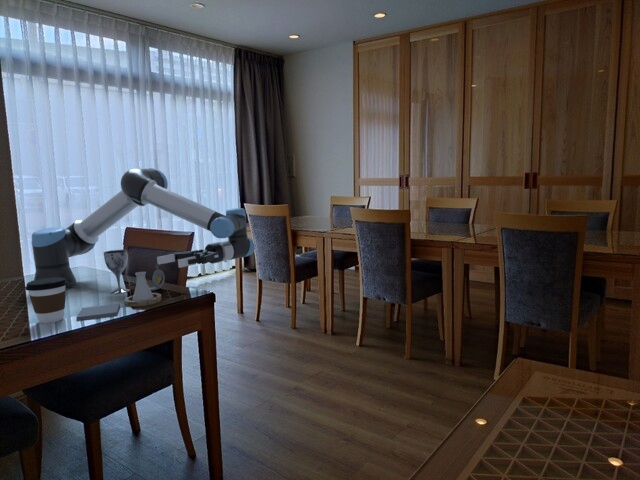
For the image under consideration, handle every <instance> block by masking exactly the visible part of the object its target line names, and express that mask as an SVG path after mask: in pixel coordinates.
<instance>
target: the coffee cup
mask: <svg viewBox="0 0 640 480" xmlns="http://www.w3.org/2000/svg"><path fill="white" fill-rule="evenodd" d="M67 284H68V281H66V279H65V278H63V277H54V278H44V279H39V280H34V279H33V280H31V281H29V282H27V283H26V286H25V288H24V290H25V291H28V293H29V299H30V301H31V302H30V303H31V304H32V308H33V312H34V313H35V314H36V318H37V320H38V322H39V323H40V324H52V323H56V322H57V323H58V322H60V321H62V320H63V319H64V316H65V309H66V297H67V296H66V294H67V289H65V285H67Z"/></svg>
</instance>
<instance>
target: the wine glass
mask: <svg viewBox="0 0 640 480" xmlns="http://www.w3.org/2000/svg"><path fill="white" fill-rule="evenodd" d="M128 257H129V255H128V250H127V249H114V250H108V251H104V252H103V259H104V263H105V266H106V267H107V270H109V271H110V272H111V273H112V274H113V275H114V276H115V277H116V283H117V288H116V289H114V290H111V291H109V294H111V295H118V294H125V293H128V292H130V291H131V290H130V289H128V288H122V287H121V275H122V273H123V272H124V270H125V269H126V267H127V265H128V260H129V259H128Z"/></svg>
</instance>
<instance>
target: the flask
mask: <svg viewBox="0 0 640 480" xmlns="http://www.w3.org/2000/svg"><path fill="white" fill-rule="evenodd" d="M134 273H135V274H134V275H135V276H136V281H135V282H136V284H135V289H134V292H133V295H134V296H133V295H132V296H133V299H132V301H143V300H149V299H153V298H154V296H153V294H152V293H153V291H151V290H150V288H149V286H150V285H149V284H148V282H147V279H146V274H147V271H138V272H134Z"/></svg>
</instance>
